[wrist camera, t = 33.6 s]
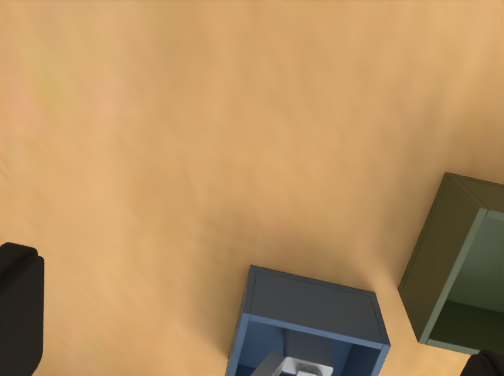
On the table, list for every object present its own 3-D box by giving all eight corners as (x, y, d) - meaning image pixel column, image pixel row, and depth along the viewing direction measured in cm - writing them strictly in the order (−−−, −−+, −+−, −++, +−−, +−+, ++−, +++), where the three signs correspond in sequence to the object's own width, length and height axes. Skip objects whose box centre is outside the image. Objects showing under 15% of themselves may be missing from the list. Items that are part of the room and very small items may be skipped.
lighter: (330, 333, 40) (338, 404, 33) (324, 347, 41) (331, 420, 34) (256, 315, 40) (248, 382, 33) (252, 329, 41) (243, 398, 34)
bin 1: (227, 360, 44) (217, 418, 37) (250, 264, 39) (242, 312, 33) (339, 385, 44) (347, 447, 37) (375, 292, 39) (391, 345, 33)
